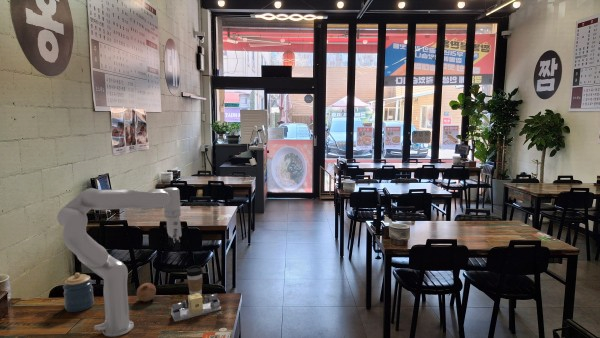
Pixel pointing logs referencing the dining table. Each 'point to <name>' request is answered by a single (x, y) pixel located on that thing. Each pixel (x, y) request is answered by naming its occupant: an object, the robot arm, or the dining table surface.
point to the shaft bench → (207, 308)
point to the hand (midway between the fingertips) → (174, 247)
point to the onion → (146, 292)
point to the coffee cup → (195, 279)
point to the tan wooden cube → (195, 303)
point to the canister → (78, 293)
